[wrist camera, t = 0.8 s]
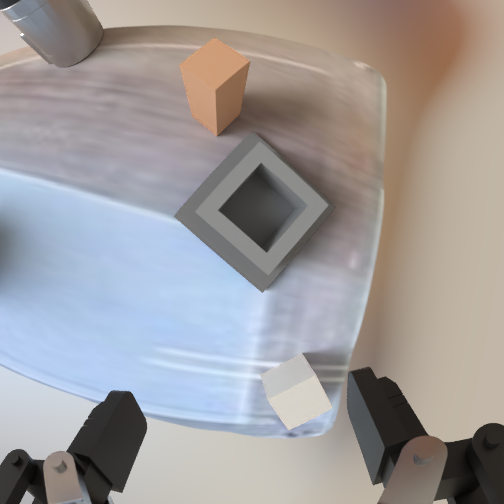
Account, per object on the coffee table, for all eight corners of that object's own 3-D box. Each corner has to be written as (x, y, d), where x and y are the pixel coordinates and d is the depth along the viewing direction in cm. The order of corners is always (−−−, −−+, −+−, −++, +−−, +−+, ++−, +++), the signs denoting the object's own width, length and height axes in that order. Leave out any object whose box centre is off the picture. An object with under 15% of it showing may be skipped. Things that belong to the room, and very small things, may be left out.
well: (261, 290, 33) (269, 304, 27) (175, 216, 31) (164, 214, 25) (332, 207, 33) (354, 204, 27) (251, 133, 31) (257, 114, 25)
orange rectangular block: (217, 136, 31) (215, 90, 19) (192, 116, 30) (179, 64, 18) (240, 113, 31) (250, 60, 19) (215, 95, 30) (214, 37, 18)
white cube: (260, 373, 34) (267, 399, 28) (301, 352, 34) (315, 374, 28) (279, 404, 35) (288, 430, 29) (318, 384, 35) (333, 407, 29)
